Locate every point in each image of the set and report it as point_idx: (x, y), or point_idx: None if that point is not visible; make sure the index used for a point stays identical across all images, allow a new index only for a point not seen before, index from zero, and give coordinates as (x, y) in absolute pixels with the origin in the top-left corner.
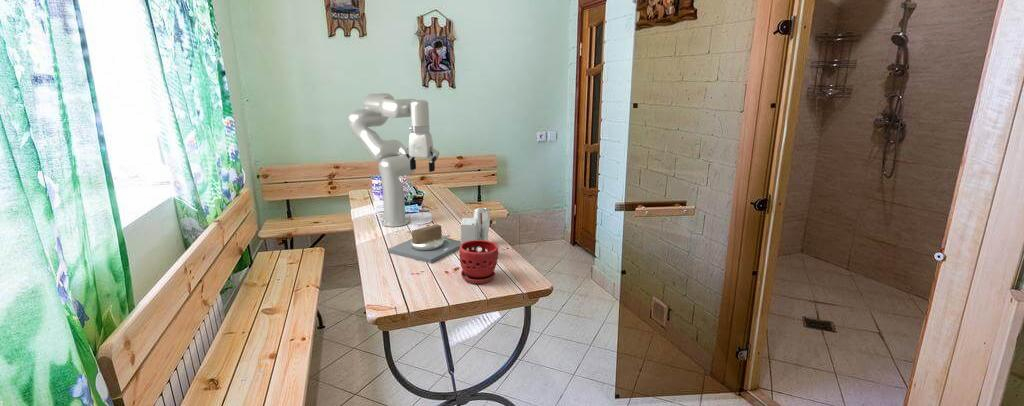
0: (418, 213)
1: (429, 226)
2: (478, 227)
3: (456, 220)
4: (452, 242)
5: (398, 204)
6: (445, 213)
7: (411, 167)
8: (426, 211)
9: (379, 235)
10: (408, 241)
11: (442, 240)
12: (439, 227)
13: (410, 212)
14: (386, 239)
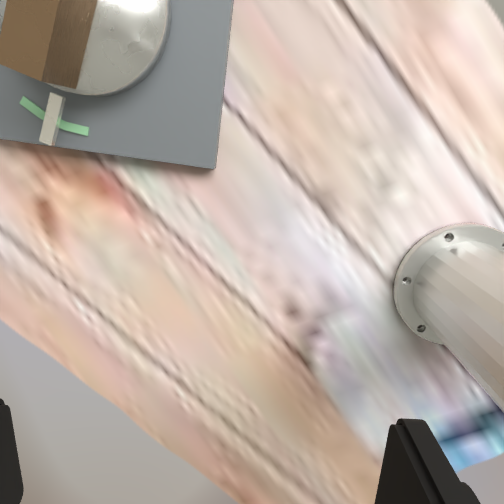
0: None
1: (49, 16)
2: None
3: (216, 407)
4: (12, 103)
5: (473, 308)
6: (311, 467)
7: (414, 453)
8: None
9: (438, 96)
10: (216, 22)
11: (1, 28)
12: (2, 48)
13: (467, 433)
14: (370, 56)
